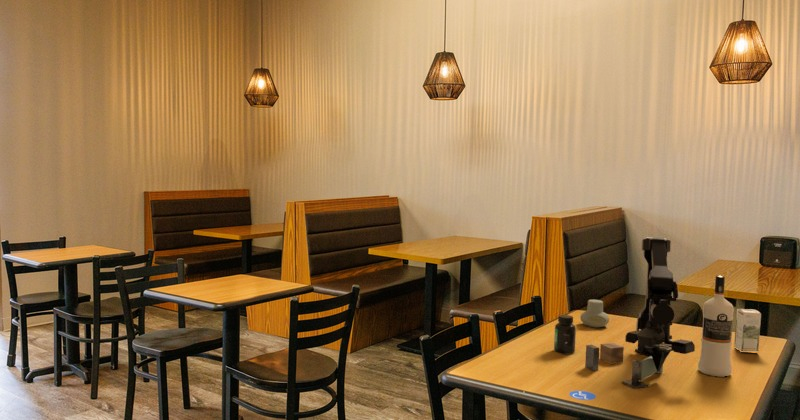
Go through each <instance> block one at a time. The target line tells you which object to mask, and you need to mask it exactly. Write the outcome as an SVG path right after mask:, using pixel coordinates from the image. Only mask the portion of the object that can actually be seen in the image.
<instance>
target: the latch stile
mask: <svg viewBox="0 0 800 420" xmlns="http://www.w3.org/2000/svg"><path fill="white" fill-rule="evenodd" d="M599 364H600V347H598V346H596V345H593V344H586V346H585V366H584V367H585V368H586V369H588V370H590V371H593V372H594V371H595V372H596V371H599Z"/></svg>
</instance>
